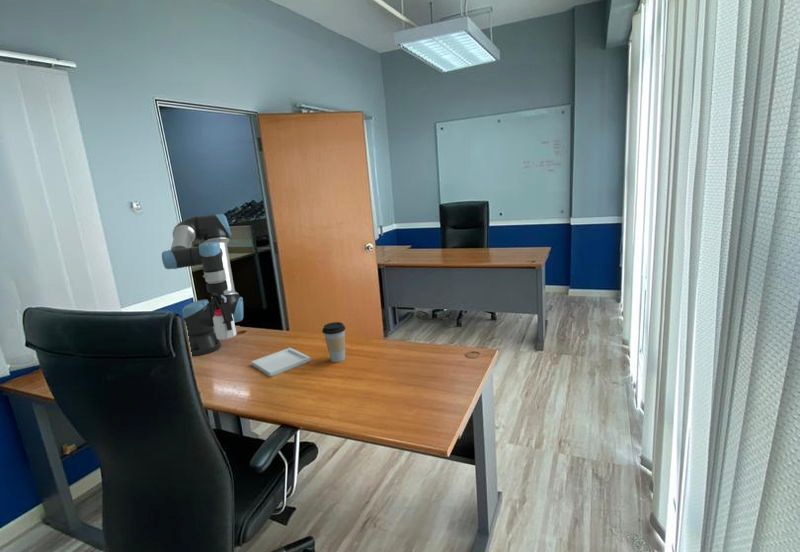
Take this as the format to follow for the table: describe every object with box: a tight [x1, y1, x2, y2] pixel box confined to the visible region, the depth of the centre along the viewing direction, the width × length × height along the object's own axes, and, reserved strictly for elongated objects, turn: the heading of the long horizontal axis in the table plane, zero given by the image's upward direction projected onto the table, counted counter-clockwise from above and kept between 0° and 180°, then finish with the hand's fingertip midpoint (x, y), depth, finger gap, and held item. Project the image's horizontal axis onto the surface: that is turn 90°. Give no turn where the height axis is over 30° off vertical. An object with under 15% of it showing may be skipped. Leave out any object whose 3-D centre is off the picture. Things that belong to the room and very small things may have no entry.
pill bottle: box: [213, 309, 238, 340], centre depth 172 cm, size 8×8×11 cm
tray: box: [250, 347, 312, 378], centre depth 178 cm, size 18×18×2 cm
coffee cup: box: [322, 321, 346, 363], centre depth 175 cm, size 9×9×15 cm
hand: (226, 335), depth 174 cm, fingers closed on pill bottle, 8 cm apart
